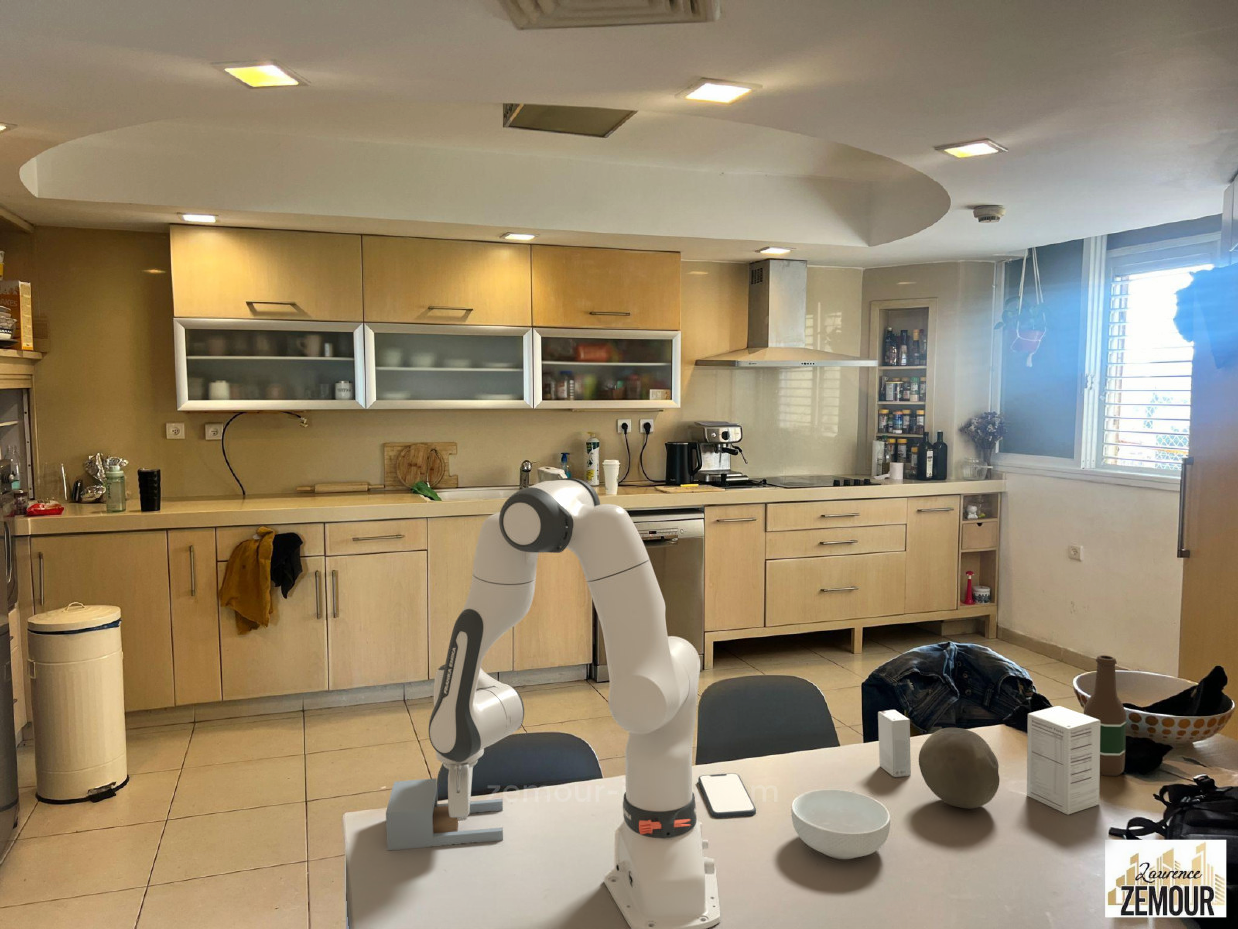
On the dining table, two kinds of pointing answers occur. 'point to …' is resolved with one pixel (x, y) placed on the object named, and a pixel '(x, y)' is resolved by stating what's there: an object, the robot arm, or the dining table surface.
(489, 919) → the dining table surface
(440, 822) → the tan cardboard slab
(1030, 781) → the supplement box
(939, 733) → the cantaloupe
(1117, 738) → the beer bottle
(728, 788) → the smartphone
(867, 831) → the cereal bowl
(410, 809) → the grey u-shaped frame
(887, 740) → the skincare box
